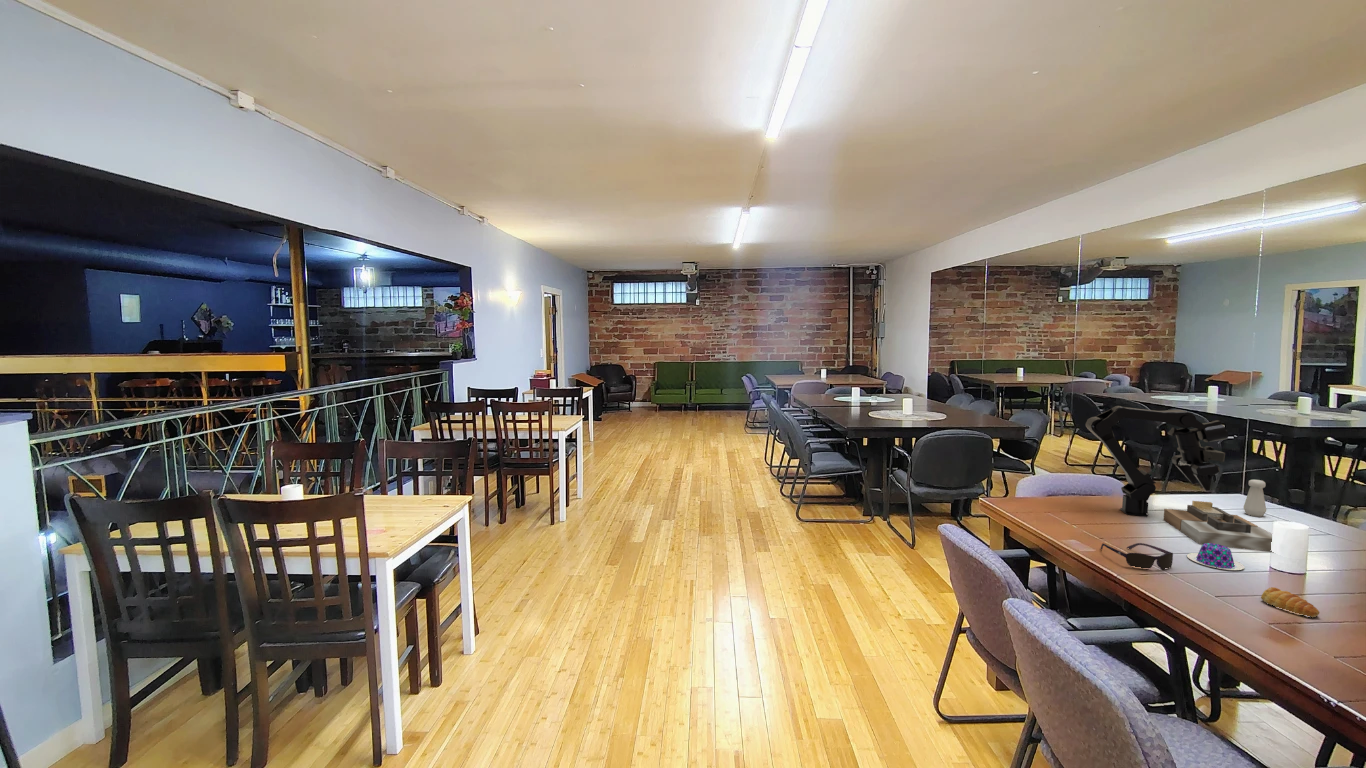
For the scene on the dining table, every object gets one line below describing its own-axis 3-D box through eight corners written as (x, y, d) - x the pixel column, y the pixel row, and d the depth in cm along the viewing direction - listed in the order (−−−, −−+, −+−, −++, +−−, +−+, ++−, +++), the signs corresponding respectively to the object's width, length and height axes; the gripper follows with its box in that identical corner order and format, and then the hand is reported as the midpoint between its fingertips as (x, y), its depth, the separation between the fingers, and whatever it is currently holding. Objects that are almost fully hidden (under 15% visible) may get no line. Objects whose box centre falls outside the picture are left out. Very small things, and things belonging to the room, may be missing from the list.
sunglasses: (1132, 571, 153) (1133, 554, 152) (1090, 549, 168) (1091, 534, 168) (1180, 571, 153) (1181, 554, 152) (1134, 549, 168) (1135, 533, 168)
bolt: (1203, 517, 183) (1204, 507, 182) (1191, 510, 190) (1192, 500, 190) (1223, 519, 181) (1223, 509, 181) (1209, 512, 188) (1210, 502, 188)
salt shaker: (1270, 517, 195) (1274, 482, 194) (1254, 517, 195) (1257, 482, 194) (1254, 512, 201) (1257, 478, 199) (1238, 512, 201) (1241, 478, 199)
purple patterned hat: (1177, 558, 161) (1178, 541, 161) (1202, 553, 165) (1203, 536, 165) (1228, 575, 150) (1230, 557, 150) (1254, 568, 154) (1255, 551, 153)
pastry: (1327, 618, 127) (1329, 602, 127) (1304, 621, 126) (1306, 605, 126) (1277, 599, 136) (1279, 584, 136) (1256, 601, 135) (1257, 587, 135)
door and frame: (1199, 543, 171) (1200, 524, 171) (1163, 519, 194) (1164, 501, 193) (1282, 552, 164) (1284, 531, 164) (1235, 526, 186) (1237, 507, 186)
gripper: (1233, 445, 181) (1245, 490, 181) (1203, 435, 199) (1214, 476, 199) (1192, 451, 186) (1204, 495, 185) (1166, 441, 203) (1177, 481, 203)
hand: (1200, 487), depth 193 cm, fingers open, 9 cm apart
